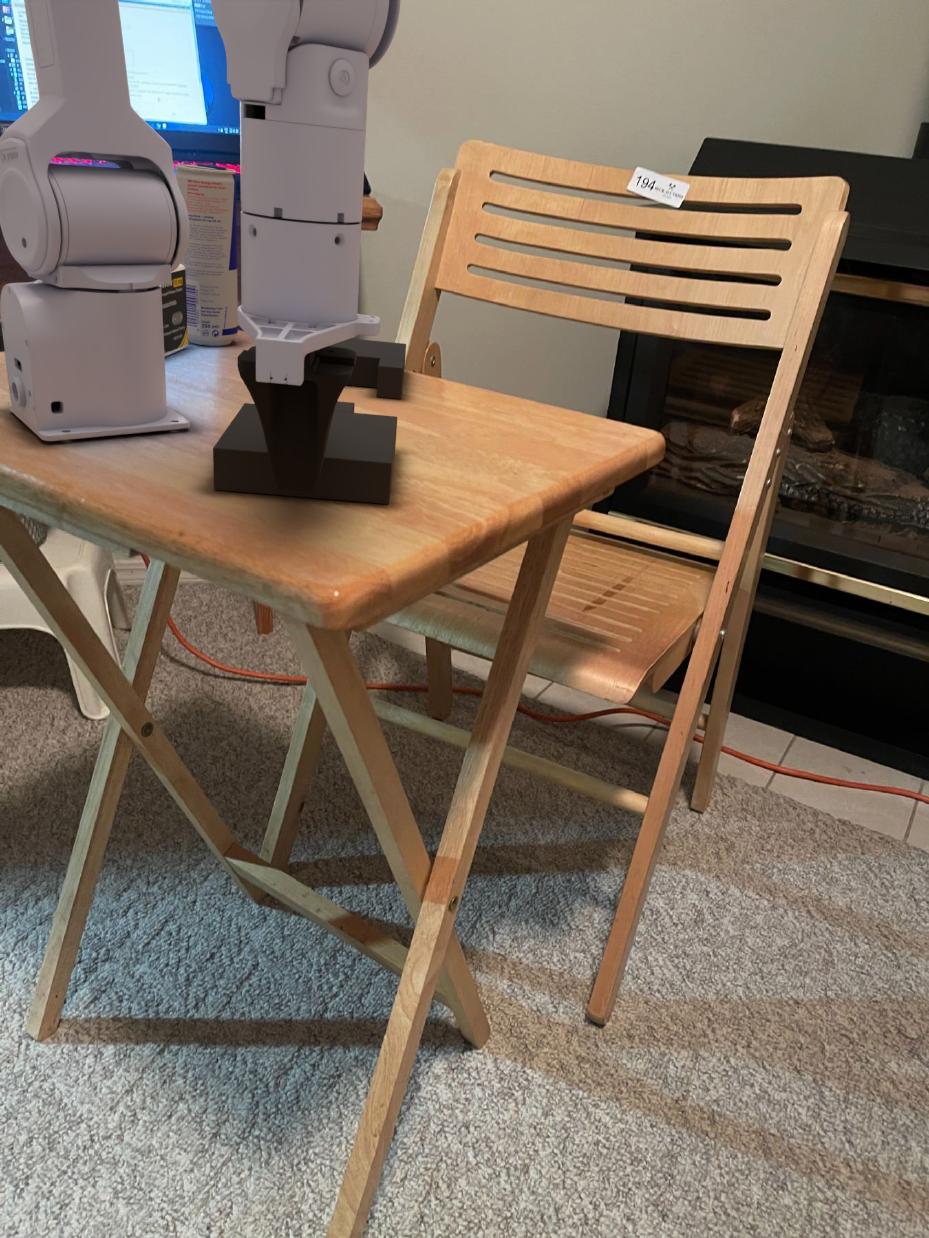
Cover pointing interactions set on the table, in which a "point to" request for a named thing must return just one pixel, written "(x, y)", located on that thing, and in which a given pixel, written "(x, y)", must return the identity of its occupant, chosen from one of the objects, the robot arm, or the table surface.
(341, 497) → the loose pad
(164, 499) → the table surface
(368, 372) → the pad
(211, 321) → the beverage can
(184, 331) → the black printed box
